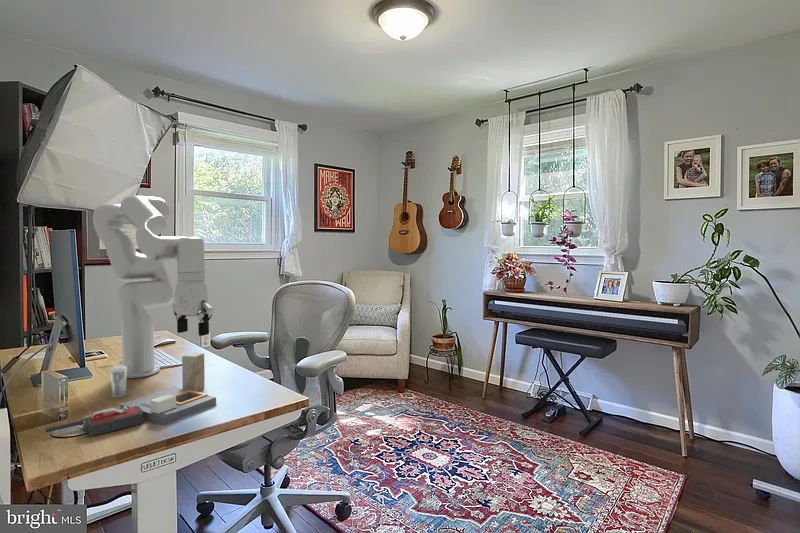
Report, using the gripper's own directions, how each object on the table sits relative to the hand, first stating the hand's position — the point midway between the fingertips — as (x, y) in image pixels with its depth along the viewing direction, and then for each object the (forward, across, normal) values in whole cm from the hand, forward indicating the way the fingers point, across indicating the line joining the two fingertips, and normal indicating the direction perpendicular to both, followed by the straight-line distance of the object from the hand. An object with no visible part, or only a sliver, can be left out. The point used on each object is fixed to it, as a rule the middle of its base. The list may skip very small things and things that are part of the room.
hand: (193, 333), depth 136 cm
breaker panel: (+18, +7, -13) cm, 23 cm away
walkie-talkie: (+18, +4, -30) cm, 35 cm away
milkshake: (+18, -14, -14) cm, 27 cm away
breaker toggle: (+16, +12, -18) cm, 26 cm away
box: (+18, 0, 0) cm, 18 cm away
